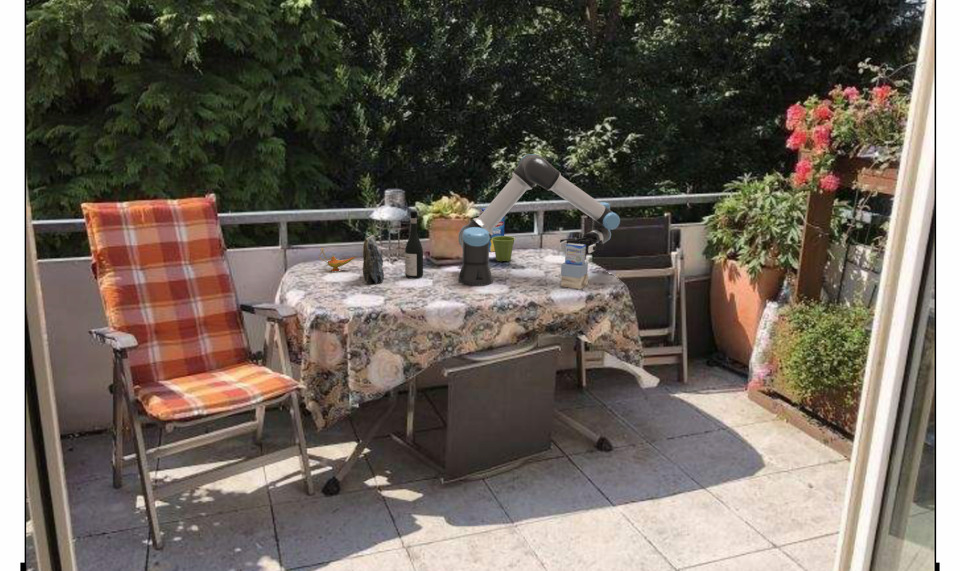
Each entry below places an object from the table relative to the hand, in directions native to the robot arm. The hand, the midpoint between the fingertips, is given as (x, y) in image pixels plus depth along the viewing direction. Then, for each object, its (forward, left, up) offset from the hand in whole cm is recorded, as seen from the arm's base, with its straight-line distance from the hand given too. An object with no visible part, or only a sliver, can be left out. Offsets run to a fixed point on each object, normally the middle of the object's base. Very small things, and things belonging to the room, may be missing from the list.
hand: (574, 248), depth 336 cm
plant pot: (+28, +49, -17) cm, 59 cm away
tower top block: (+2, 0, -12) cm, 13 cm away
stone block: (-37, +80, -17) cm, 90 cm away
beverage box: (+46, +65, -17) cm, 82 cm away
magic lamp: (-32, +104, -17) cm, 110 cm away
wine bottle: (-23, +68, -17) cm, 74 cm away
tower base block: (+2, 0, -17) cm, 18 cm away
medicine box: (+2, 0, -8) cm, 8 cm away
